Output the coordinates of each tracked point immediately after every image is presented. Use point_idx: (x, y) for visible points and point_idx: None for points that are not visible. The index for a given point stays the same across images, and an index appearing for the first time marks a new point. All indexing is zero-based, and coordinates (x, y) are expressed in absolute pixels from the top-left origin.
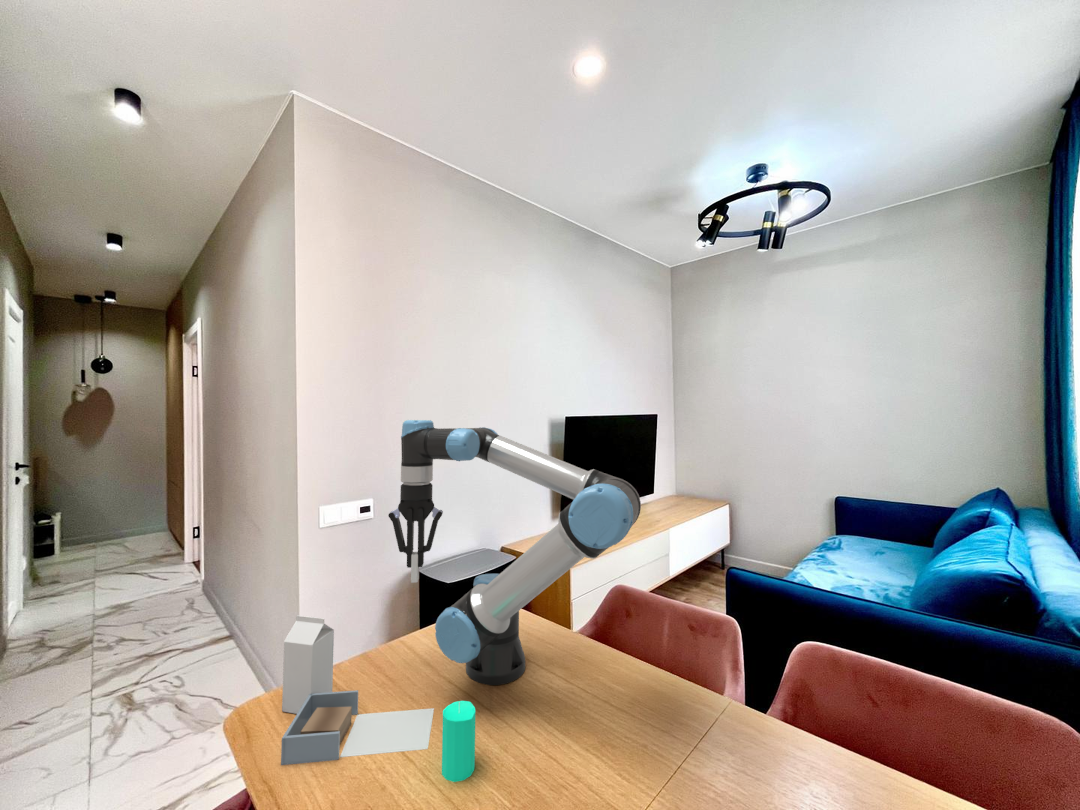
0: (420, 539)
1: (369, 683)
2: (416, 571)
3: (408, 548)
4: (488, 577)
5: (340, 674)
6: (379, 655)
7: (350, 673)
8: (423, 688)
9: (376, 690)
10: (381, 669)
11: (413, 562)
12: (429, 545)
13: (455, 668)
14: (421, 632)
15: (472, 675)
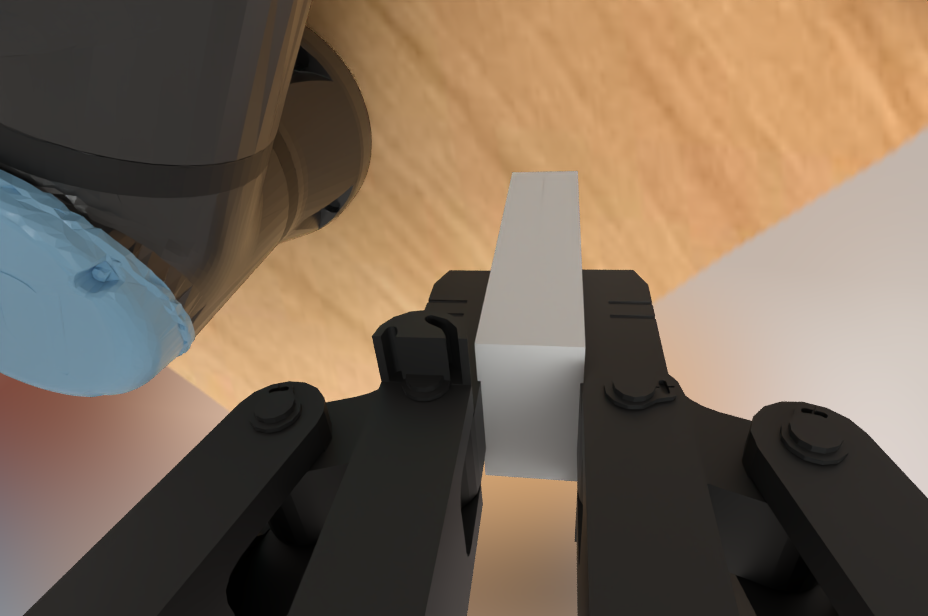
0: (356, 611)
1: (737, 61)
2: (513, 218)
3: (658, 447)
4: (34, 307)
5: (864, 138)
6: (709, 254)
7: (821, 142)
8: (510, 6)
9: (704, 4)
10: (694, 159)
11: (549, 277)
12: (222, 462)
13: (411, 138)
14: None
15: (325, 51)
